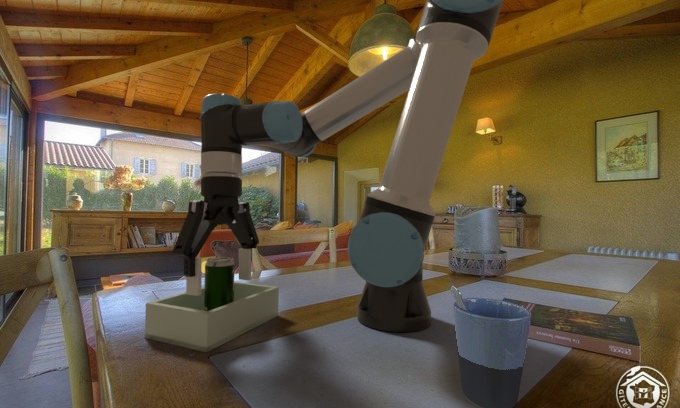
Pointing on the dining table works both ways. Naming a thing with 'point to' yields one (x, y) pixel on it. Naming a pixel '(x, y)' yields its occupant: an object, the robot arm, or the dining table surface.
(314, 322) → the dining table surface
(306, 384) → the dining table surface
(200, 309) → the box
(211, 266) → the beer can
